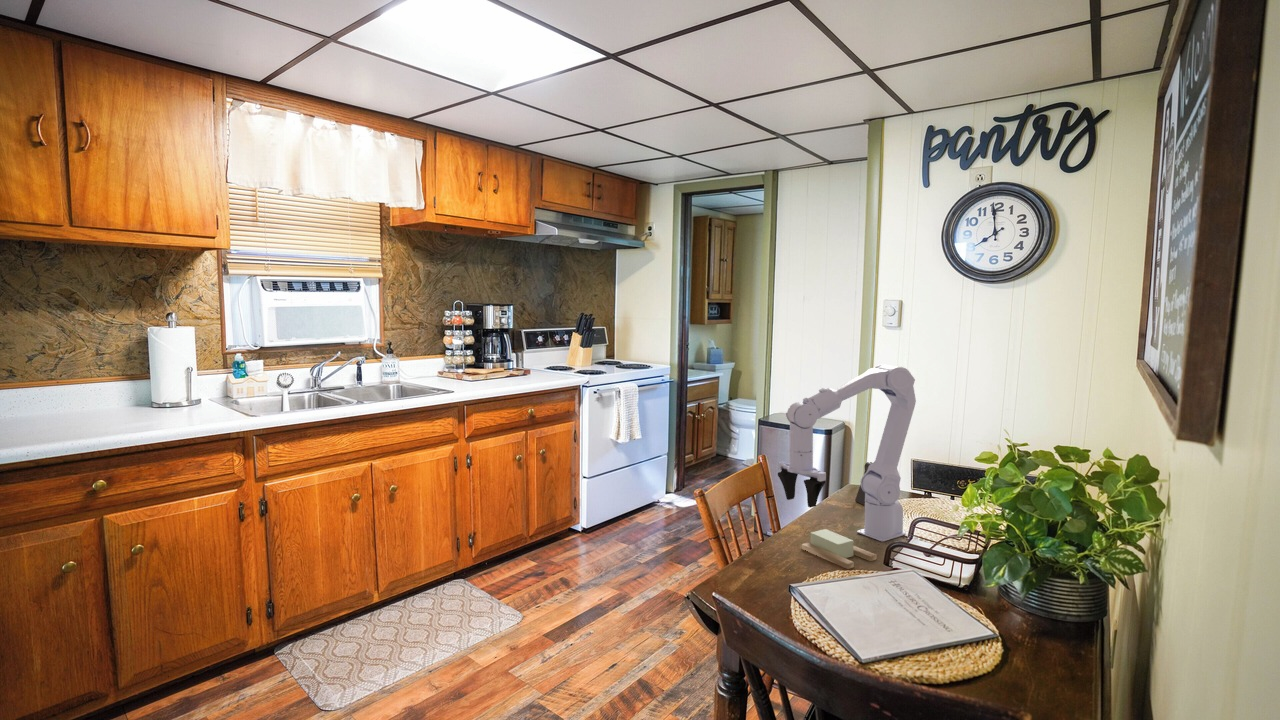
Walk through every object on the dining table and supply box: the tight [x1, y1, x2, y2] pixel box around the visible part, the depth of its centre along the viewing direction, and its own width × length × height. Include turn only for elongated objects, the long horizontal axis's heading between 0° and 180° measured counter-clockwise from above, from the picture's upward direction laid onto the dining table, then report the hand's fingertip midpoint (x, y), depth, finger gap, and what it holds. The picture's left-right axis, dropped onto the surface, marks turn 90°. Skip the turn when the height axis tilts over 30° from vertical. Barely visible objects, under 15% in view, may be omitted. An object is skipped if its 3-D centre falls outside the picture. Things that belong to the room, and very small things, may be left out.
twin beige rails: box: [801, 542, 877, 570], centre depth 143 cm, size 10×14×1 cm
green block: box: [809, 528, 855, 559], centre depth 145 cm, size 5×9×4 cm, turn 28°
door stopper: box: [854, 461, 873, 507], centre depth 181 cm, size 9×6×12 cm, turn 102°
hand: (801, 502), depth 153 cm, fingers open, 7 cm apart
